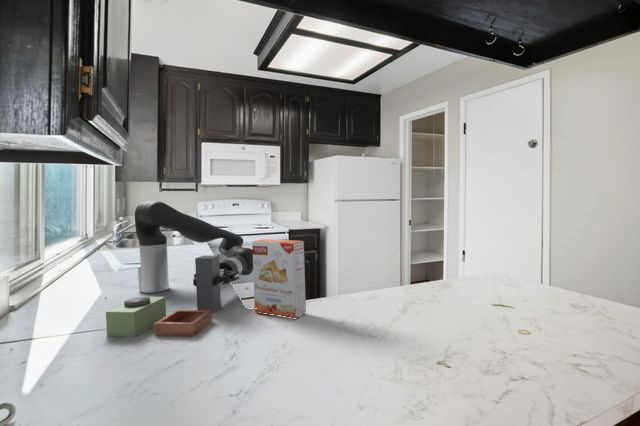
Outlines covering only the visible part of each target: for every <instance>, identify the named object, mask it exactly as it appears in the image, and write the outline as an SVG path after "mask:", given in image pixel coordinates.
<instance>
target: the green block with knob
mask: <svg viewBox="0 0 640 426" xmlns="http://www.w3.org/2000/svg"><path fill="white" fill-rule="evenodd" d="M166 302H167V301H166V296H138V297H132V298H129V299H126V300H124V303H122V304H120V305H118V306H115V307H114V308H111V309H109V310H107V311H105V322H106V336H107V337H129V338H131V337H133V338H134V337H137V336H139V335H140V334H142V333H143V332H146V331H147V330H149V329H150V328H152V327H154V323H156V322H157V321H159V320H161V319H162V318H164V317H166V316H167V309H166V308H167V306H166Z"/></svg>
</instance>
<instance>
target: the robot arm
mask: <svg viewBox="0 0 640 426" xmlns="http://www.w3.org/2000/svg"><path fill="white" fill-rule="evenodd" d="M134 225H135V233H136V234H135V235H136V238H137V240H138V245H139V246H138V247H139V265H137V274H138V275H137V276H138V291H139V292H142V293H144V294H146V293H147V294H150V293H151V294H152V293H158V292H159V293H160V292H163V291H167V290H169V288H170V287H169V286H170V283H169V282H170V281H169V260H168V242H167V241H168V240H167V236H166V235H165V234H164V233H162V231H161V230H160V229H161V228H160V227H163V228H166V229H170V230H174V231H176V232H177V233H179V234H180V235H181V236H182V237H184V239H185V238H186V239H188V240H190V241H192V242H195V243H200V244H204V243H208V242H211V241H212V242H213V241H215V240H218V239H222V240H221V241H220V243H219V246H218V251H219V253H220V254H221V255H223V256H224V257H226V258H225V259H223V260H221V261H220V260H219V268H220V275H219V276H217V277H215V278H213V279H212V286H216V285H218V284H219V283H220V285H227V284H229V283H232V282H235V281H237V280H240V276H249V275H251V274H252V273H253V248H250V247H243V244H244V238H243V237H242V236H241V235H239V234H238V233H237V234H236V233H234V232H232V231H229V230H226V229H222V228H220V227H217V226H215V225H213V224H211V223H209V222H207V221H205V220H202V219H200V218H197V217H194V216H192V215H189V214H186V213H183V212H181V211H179V210H178V209H176V208H174V207H172V206H170V204H166V203H165V202H163V201H158V200H149V201H148V200H147V201H142V202H140V203H139V204H138V205H136V208H135V210H134ZM192 282H193V283H192V285H193V286H194V287H196V272H195V273H194V274H193V279H192Z"/></svg>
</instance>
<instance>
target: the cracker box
mask: <svg viewBox="0 0 640 426" xmlns="http://www.w3.org/2000/svg"><path fill="white" fill-rule="evenodd" d="M251 244H252V248H251V249H252V250H253V271H252V273H253V297H254V298H253V299H254V313H255V312H261V313H267V314H274V315H281V316H286V317H291V318H297V317H299V316H300V315H302V314H304V313H305V312H307V311H306V310H307V307H306V304H307V303H306V301H307V300H306V274H305V271H306V269H305V268H306V267H305V265H306V264H305V241H304V240H293V239H291V240H289V239H271V238H270V239H269V238H263V239H256V240H253V241H252V242H251ZM255 308H257V309H255ZM305 314H306V313H305ZM305 314H304V315H305ZM302 316H303V315H302ZM300 317H301V316H300ZM300 317H299V318H300ZM297 319H298V318H297Z"/></svg>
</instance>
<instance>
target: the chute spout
mask: <svg viewBox="0 0 640 426" xmlns="http://www.w3.org/2000/svg"><path fill="white" fill-rule="evenodd" d="M219 262H220V255H201V256H199V257H195V260H194V265H195V273H196V286H195V289H196V308H197V309H196V310H212V314H215V313H216V312H218V311H219V310H220V309H222V300H221V298H222V295H221V284H220V283H219V284H218V285H216V286H212V279H213V278H215V277H217V276H219V275H220V268H219Z"/></svg>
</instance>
